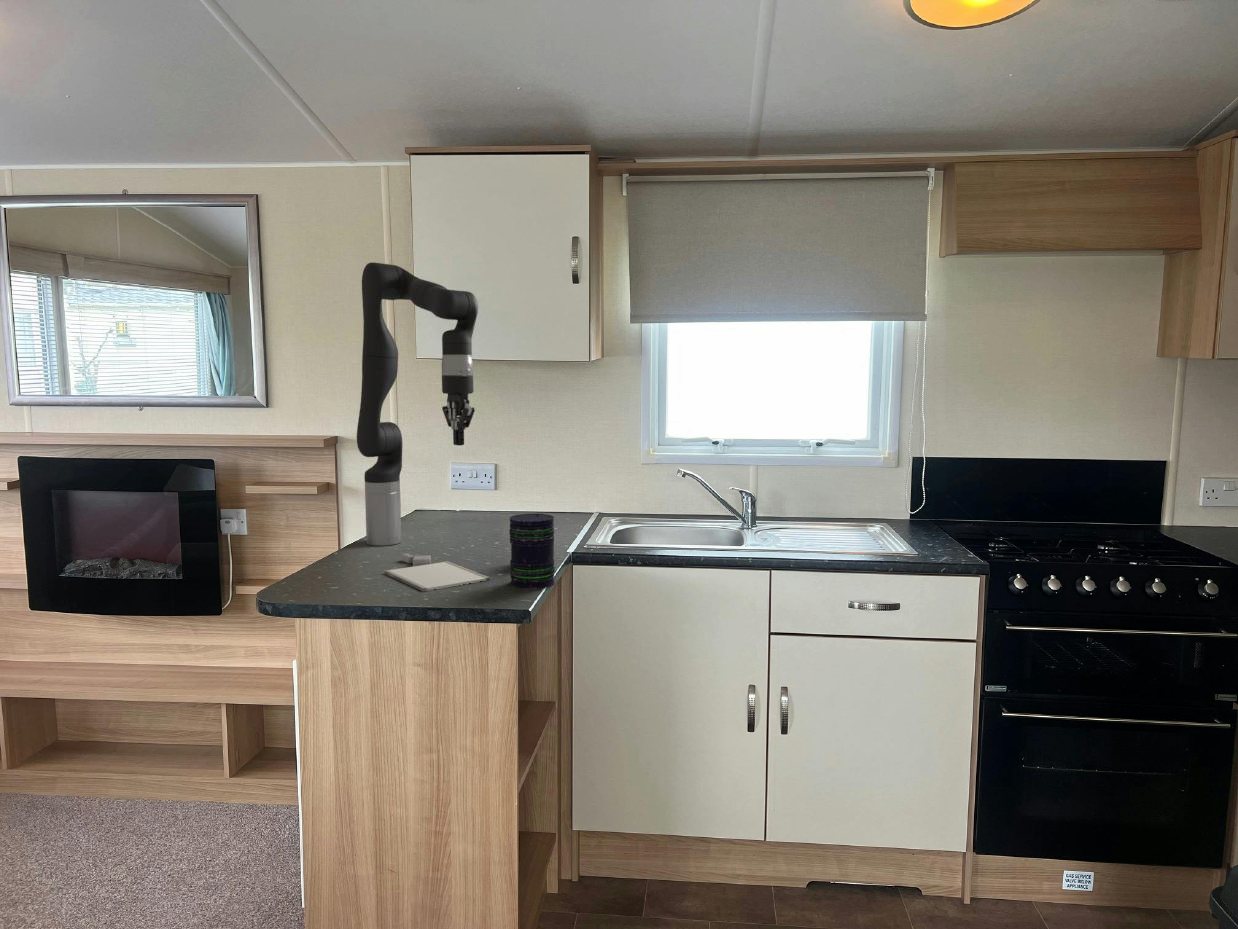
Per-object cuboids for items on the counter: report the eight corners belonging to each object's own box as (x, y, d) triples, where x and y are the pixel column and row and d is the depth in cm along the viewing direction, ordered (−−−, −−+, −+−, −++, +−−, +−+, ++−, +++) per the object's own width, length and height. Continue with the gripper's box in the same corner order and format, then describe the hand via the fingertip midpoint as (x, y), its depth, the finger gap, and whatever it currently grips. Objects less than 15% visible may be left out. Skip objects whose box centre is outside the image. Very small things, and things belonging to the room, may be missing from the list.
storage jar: (542, 591, 178) (541, 522, 177) (501, 587, 182) (500, 519, 180) (562, 580, 188) (561, 515, 186) (523, 577, 191) (522, 512, 190)
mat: (384, 573, 194) (384, 570, 194) (447, 564, 204) (447, 561, 204) (423, 591, 178) (423, 588, 178) (489, 580, 188) (489, 577, 188)
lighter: (430, 566, 202) (431, 559, 210) (430, 559, 202) (431, 552, 210) (400, 567, 201) (402, 560, 208) (400, 560, 201) (401, 553, 208)
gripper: (431, 373, 205) (432, 444, 207) (456, 373, 195) (457, 447, 197) (458, 374, 210) (460, 442, 212) (484, 373, 199) (485, 446, 201)
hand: (458, 445), depth 204 cm, fingers closed
